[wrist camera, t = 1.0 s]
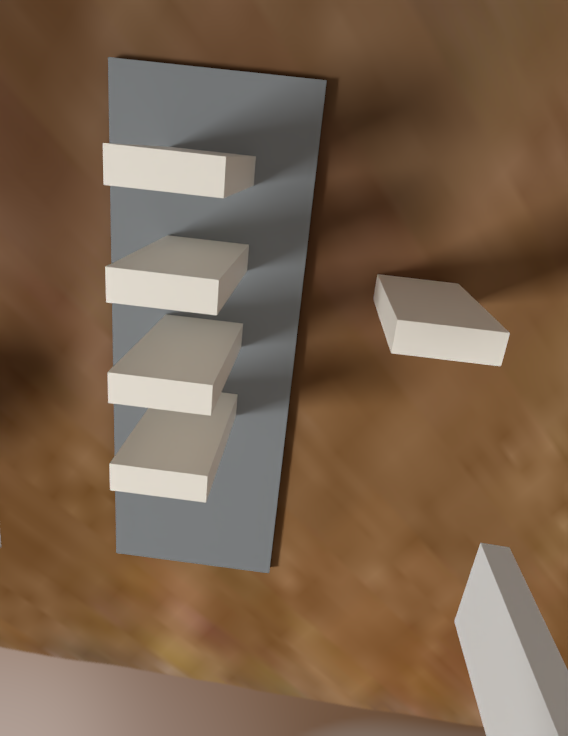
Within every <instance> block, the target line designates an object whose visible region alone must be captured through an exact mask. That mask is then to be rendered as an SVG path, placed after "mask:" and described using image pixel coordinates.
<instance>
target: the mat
mask: <svg viewBox="0 0 568 736" xmlns="http://www.w3.org/2000/svg"><path fill="white" fill-rule="evenodd" d="M108 82H109V142H110V143H111V144H129V145H147V146H165V147H176V148H185V149H194V150H203V151H212V152H221V153H230V154H239V155H249V156H256V162H255V175H254V186H252V187H249V188H247V189H245V190H242V191H240V192H238V193H235V194H233V195H230V196H228V197H226V198H216V197H207V196H198V195H189V194H181V193H172V192H163V191H154V190H145V189H136V188H127V187H119V186H110V202H111V261H112V263H114V262H116V261H118V260H120V259H122V258H124V257H126V256H128V255H130V254H131V253H133V252H135V251H137V250H139V249H141V248H143V247H145V246H147V245H149V244H151V243H153V242H155V241H157V240H159V239H161V238H163V237H165V236H167V235H170V236H178V237H187V238H196V239H204V240H213V241H222V242H230V243H239V244H248V245H249V253H248V266H247V272H246V273H245V275H244V276H243V278H242V279H241V281H240V282H239V284H238V285H237V286H236V288H235V289H234V291H233V292H232V294H231V295H230V297H229V298H228V300H227V301H226V303H225V304H224V306H223V307H222V309H221V310H220V312H219V313H218V314H217V315H209V314H201V313H192V312H184V311H175V310H167V309H159V308H150V307H142V306H133V305H125V304H117V303H112V321H113V366H114V365H115V364H116V363H117V362H118V361H119V360H120V359H121V358H122V357H123V356H125V355H126V354H127V353H128V352H129V351H130V350H131V349H132V348H133V347H134V346H135V345H136V344H137V343H138V342H139V341H140V340H141V339H142V338H143V337H144V336H145V335H146V334H147V333H148V332H149V331H150V330H151V329H152V328H153V327H154V326H155V325H156V324H157V323H158V322H159V321H160V320H161V319H162V318H163V317H164V316H165V315H166V314H168V315H176V316H184V317H193V318H201V319H210V320H218V321H226V322H235V323H243V331H242V344H241V349H240V351H239V353H238V356H237V358H236V360H235V362H234V365H233V367H232V369H231V371H230V374H229V376H228V378H227V381H226V383H225V385H224V387H223V390H222V392H223V393H231V394H238V396H237V409H236V417H235V420H234V423H233V426H232V428H231V431H230V434H229V437H228V440H227V443H226V446H225V449H224V452H223V455H222V458H221V460H220V463H219V466H218V469H217V472H216V475H215V478H214V481H213V484H212V487H211V490H210V492H209V495H208V498H207V501H206V503H205V502H198V501H190V500H182V499H174V498H167V497H159V496H151V495H143V494H136V493H128V492H120V491H115V499H116V553H121V554H128V555H136V556H143V557H151V558H159V559H166V560H174V561H181V562H189V563H196V564H204V565H211V566H219V567H226V568H234V569H241V570H249V571H257V572H264V573H269V570H270V562H271V553H272V545H273V536H274V528H275V519H276V510H277V502H278V493H279V485H280V476H281V468H282V459H283V450H284V442H285V433H286V425H287V416H288V408H289V399H290V391H291V382H292V373H293V365H294V356H295V348H296V339H297V331H298V322H299V313H300V305H301V296H302V288H303V279H304V271H305V262H306V254H307V245H308V236H309V228H310V219H311V211H312V202H313V194H314V185H315V176H316V168H317V159H318V151H319V142H320V134H321V125H322V117H323V108H324V99H325V91H326V82H327V80H319V79H310V78H300V77H291V76H281V75H272V74H263V73H253V72H244V71H234V70H225V69H215V68H206V67H196V66H187V65H178V64H168V63H159V62H149V61H140V60H130V59H121V58H112V57H108ZM147 409H148V408H145V407H137V406H129V405H121V404H114V440H115V455H116V454H117V452H118V451H119V449H120V448H121V446H122V445H123V444H124V442H125V441H126V439H127V438H128V437H129V435H130V434H131V432H132V431H133V429H134V428H135V427H136V425H137V424H138V422H139V421H140V419H141V418H142V417H143V415H144V414H145V412H146V411H147Z"/></svg>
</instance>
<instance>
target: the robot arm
mask: <svg viewBox="0 0 568 736" xmlns="http://www.w3.org/2000/svg"><path fill="white" fill-rule="evenodd" d="M0 547H1V536H0ZM454 622H455V625H456V629H457V632H458V636H459V640H460V643H461V647H462V650H463V654H464V658H465V661H466V665H467V668H468V672H469V676H470V679H471V683H472V686H473V690H474V694H475V697H476V701H477V704H478V708H479V712H480V715H481V719H482V722H483V726H484V730H485V733H486V736H568V670H567V668H566V666H565V664H564V662H563V659H562V657H561V655H560V653H559V651H558V649H557V647H556V645H555V643H554V640H553V638H552V636H551V634H550V632H549V630H548V628H547V626H546V624H545V621H544V619H543V617H542V615H541V613H540V611H539V609H538V607H537V605H536V603H535V600H534V598H533V596H532V594H531V592H530V590H529V588H528V586H527V584H526V581H525V579H524V577H523V575H522V573H521V571H520V569H519V567H518V565H517V563H516V560H515V558H514V556H513V554H512V552H511V550H510V548H509V547H503V546H497V545H491V544H485V543H480V546H479V549H478V552H477V555H476V558H475V561H474V564H473V567H472V570H471V573H470V576H469V579H468V582H467V585H466V588H465V591H464V594H463V597H462V600H461V603H460V606H459V609H458V612H457V615H456V618H455V621H454Z"/></svg>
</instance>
